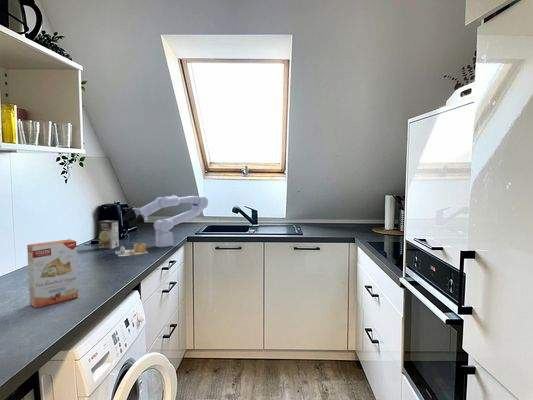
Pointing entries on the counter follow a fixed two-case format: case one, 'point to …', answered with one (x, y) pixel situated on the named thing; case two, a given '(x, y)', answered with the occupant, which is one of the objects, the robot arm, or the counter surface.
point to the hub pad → (122, 253)
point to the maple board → (131, 252)
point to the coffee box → (108, 234)
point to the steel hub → (122, 249)
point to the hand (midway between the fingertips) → (126, 221)
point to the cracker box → (52, 272)
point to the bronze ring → (139, 247)
